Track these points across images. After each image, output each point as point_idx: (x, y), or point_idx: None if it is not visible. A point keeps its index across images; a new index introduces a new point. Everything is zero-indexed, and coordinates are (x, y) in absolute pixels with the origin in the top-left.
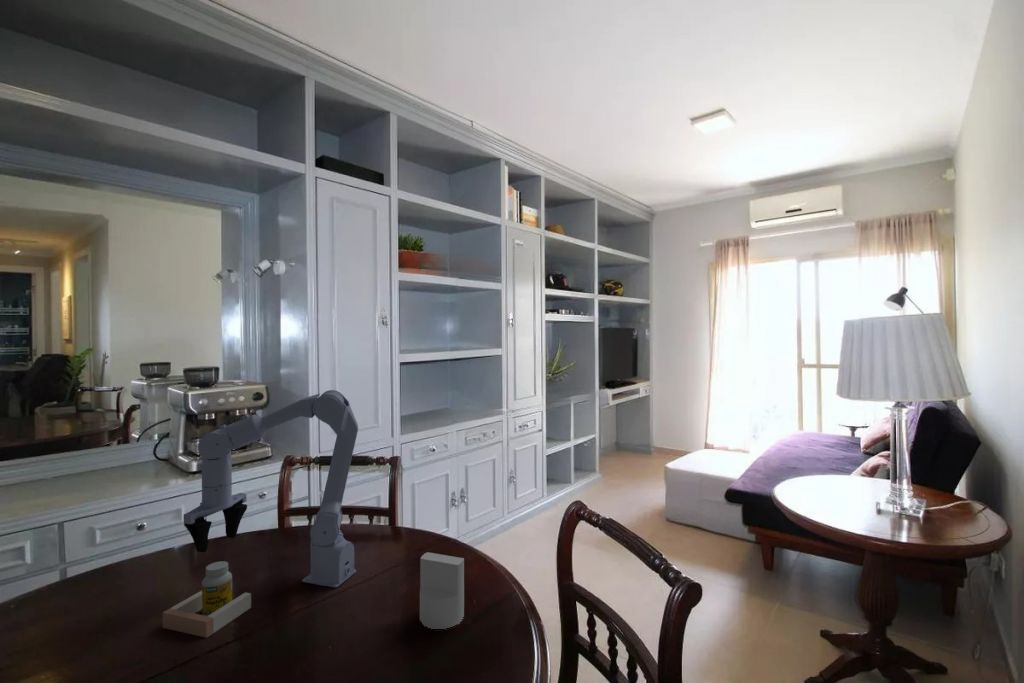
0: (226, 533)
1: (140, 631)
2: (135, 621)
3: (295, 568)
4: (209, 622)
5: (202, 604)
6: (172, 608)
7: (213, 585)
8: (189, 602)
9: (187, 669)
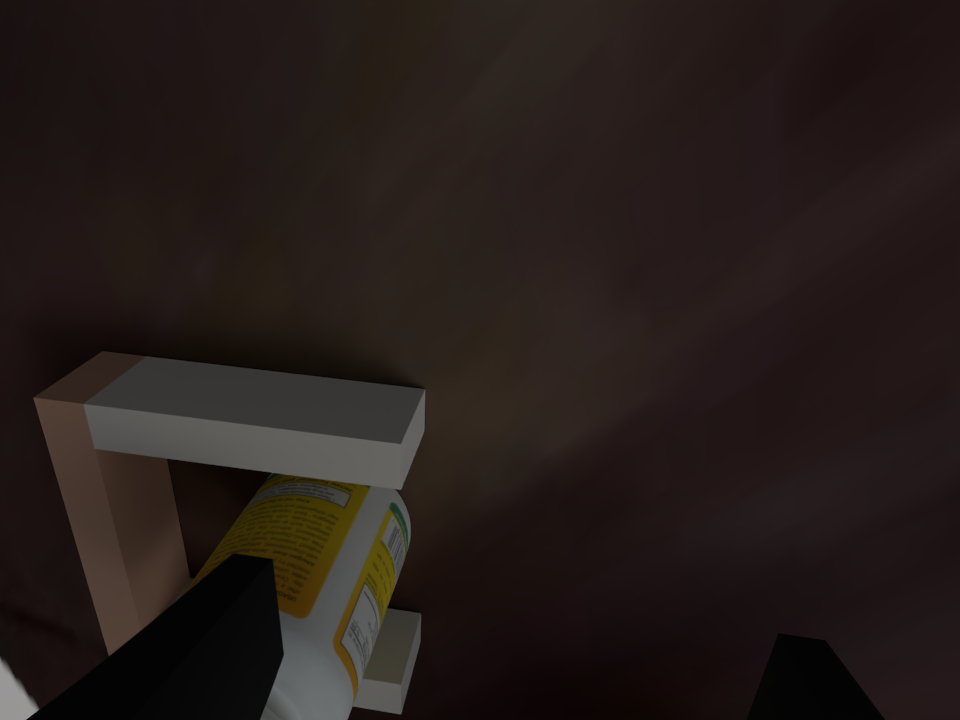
0: (795, 689)
1: (20, 253)
2: (50, 108)
3: (920, 651)
4: None
5: (235, 521)
6: (89, 421)
7: None
8: (194, 457)
9: (14, 648)
